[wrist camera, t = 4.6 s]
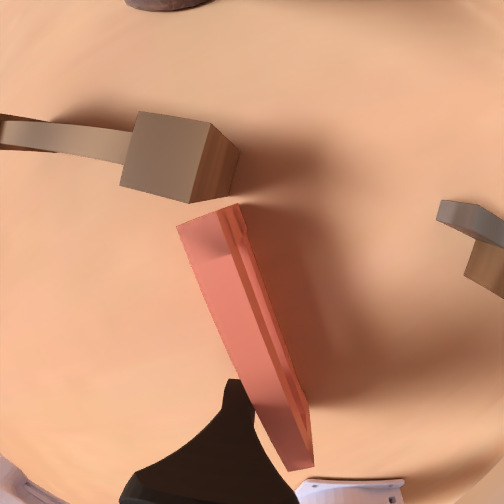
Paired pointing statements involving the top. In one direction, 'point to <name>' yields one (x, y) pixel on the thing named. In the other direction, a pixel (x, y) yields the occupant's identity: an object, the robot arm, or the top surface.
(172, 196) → the fence
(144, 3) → the mortar and pestle
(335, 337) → the top surface
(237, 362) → the gate
